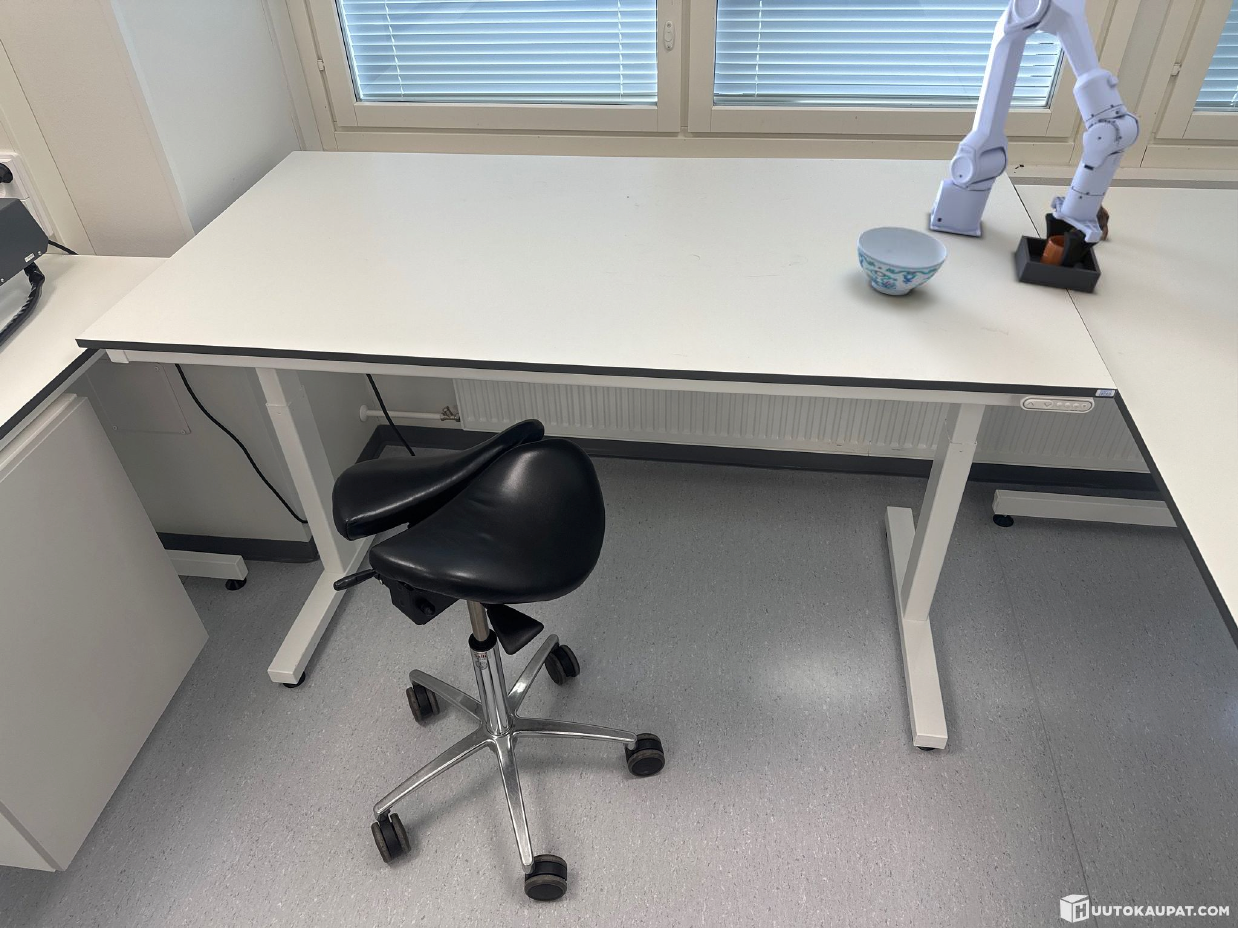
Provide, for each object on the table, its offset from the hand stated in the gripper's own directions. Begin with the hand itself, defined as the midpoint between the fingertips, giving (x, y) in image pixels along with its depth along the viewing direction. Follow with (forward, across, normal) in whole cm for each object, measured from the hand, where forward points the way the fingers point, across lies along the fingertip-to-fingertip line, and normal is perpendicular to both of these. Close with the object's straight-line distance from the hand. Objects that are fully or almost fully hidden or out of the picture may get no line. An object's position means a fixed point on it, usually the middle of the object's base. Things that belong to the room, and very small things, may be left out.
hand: (1057, 261), depth 147 cm
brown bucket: (+2, 0, 0) cm, 2 cm away
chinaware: (+2, +6, -32) cm, 33 cm away
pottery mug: (+2, -16, +12) cm, 21 cm away
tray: (+2, 0, 0) cm, 2 cm away
